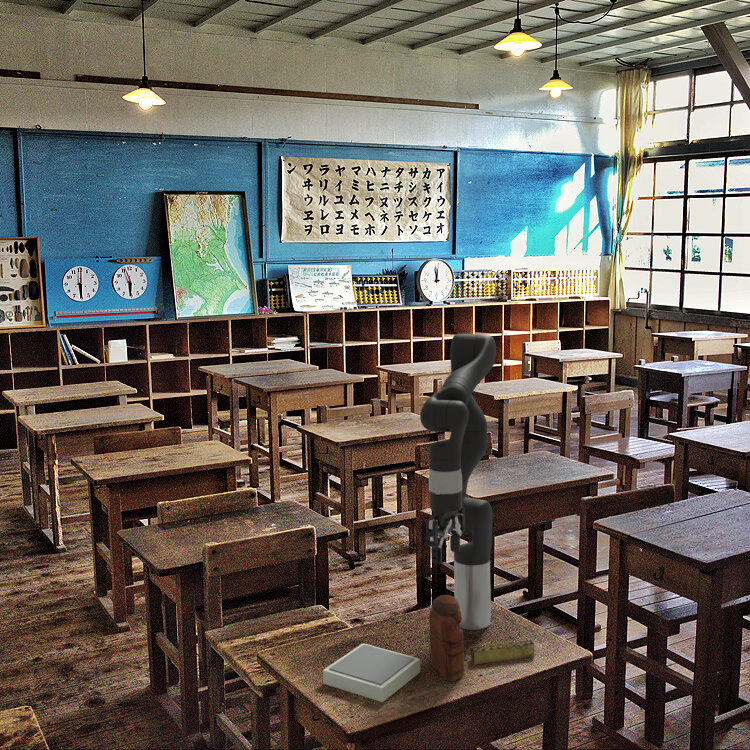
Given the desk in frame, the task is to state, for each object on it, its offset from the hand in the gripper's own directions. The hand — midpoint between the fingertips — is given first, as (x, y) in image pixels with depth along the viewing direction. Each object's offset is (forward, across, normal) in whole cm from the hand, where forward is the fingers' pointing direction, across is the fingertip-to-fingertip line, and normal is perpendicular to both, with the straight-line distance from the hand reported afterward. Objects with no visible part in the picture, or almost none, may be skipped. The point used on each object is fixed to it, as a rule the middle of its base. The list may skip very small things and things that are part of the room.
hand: (446, 557), depth 199 cm
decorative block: (+28, -12, +8) cm, 31 cm away
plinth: (+27, +12, -13) cm, 32 cm away
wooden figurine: (+27, 0, 0) cm, 27 cm away
